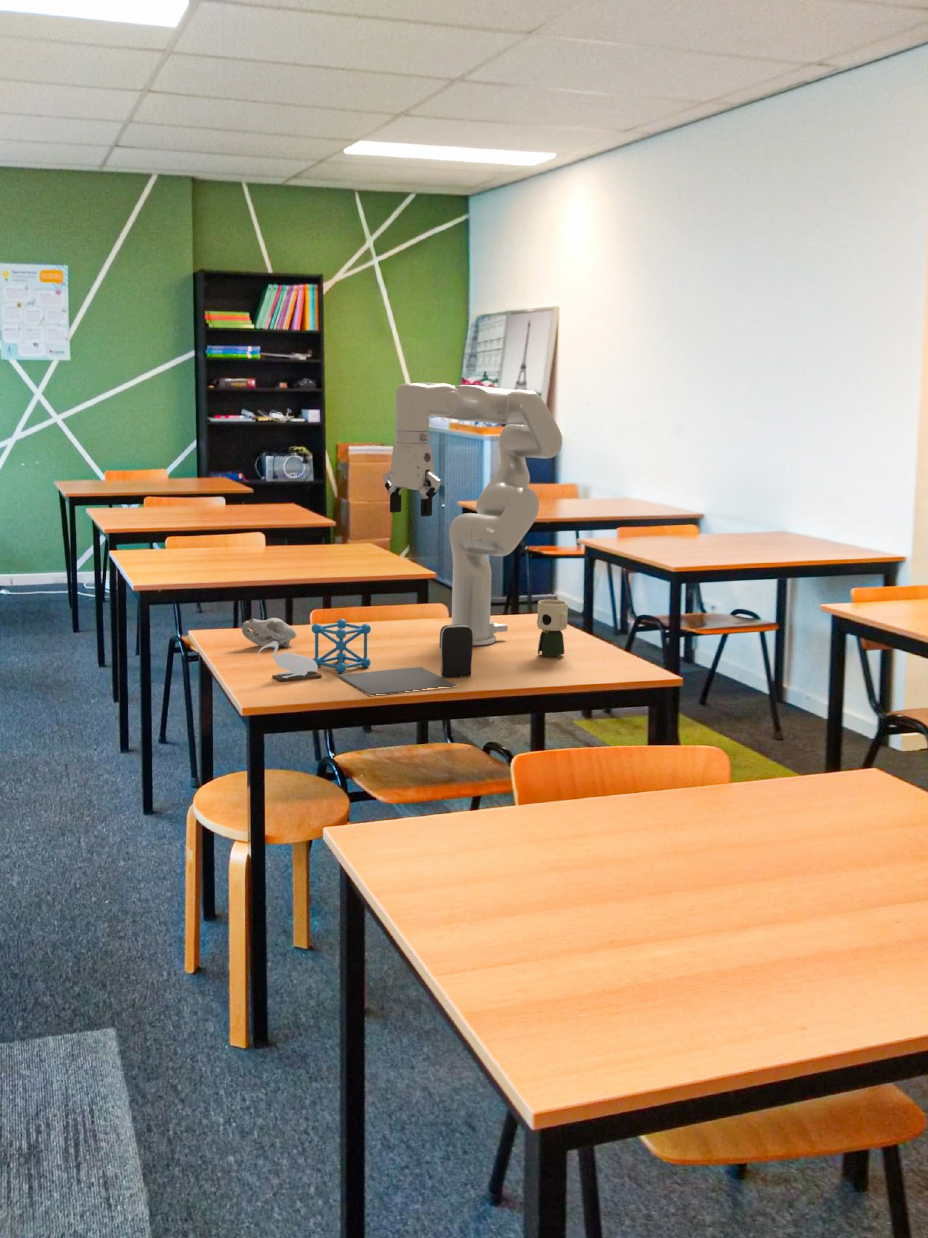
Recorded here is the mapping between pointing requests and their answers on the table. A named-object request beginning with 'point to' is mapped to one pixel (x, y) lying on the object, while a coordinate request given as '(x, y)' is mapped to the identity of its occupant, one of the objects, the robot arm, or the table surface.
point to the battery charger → (456, 650)
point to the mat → (395, 680)
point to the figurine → (293, 666)
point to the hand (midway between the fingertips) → (410, 514)
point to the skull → (268, 632)
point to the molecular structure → (341, 645)
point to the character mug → (552, 626)
